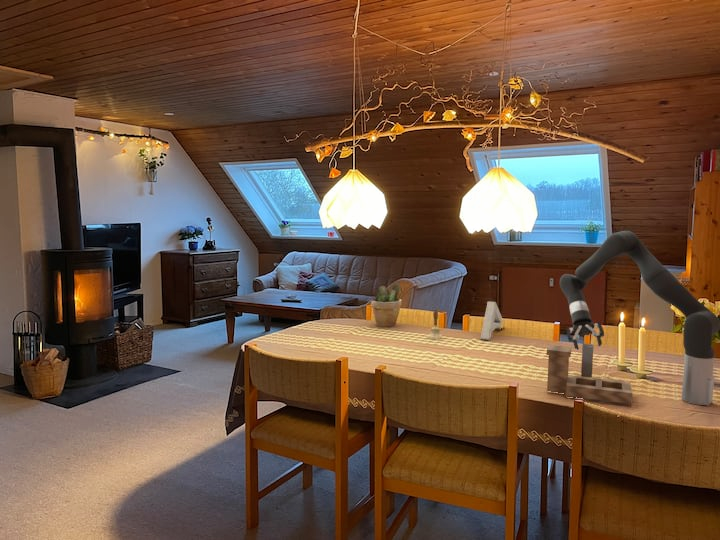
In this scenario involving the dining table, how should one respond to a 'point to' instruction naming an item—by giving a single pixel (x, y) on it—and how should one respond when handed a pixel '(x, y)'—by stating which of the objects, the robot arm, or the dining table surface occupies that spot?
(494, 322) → the white letter a
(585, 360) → the gray rectangular block
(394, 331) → the dining table surface
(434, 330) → the hand bell
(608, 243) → the robot arm
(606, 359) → the dining table surface
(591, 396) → the desk organizer
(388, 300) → the potted plant
